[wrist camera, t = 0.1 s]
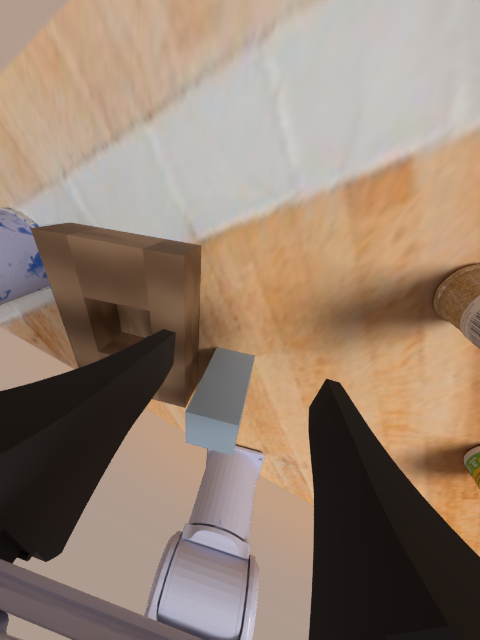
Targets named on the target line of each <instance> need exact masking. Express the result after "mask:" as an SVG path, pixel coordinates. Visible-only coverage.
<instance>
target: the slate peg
mask: <svg viewBox="0 0 480 640" xmlns="http://www.w3.org/2000/svg"><path fill="white" fill-rule="evenodd" d="M254 357H255V356H254V355H250V354H245V353H241V352H236V351H232V350H227V349H223V348H219V347H217V348H216V350H215V352H214V354H213V356H212V358H211V361H210V363H209V365H208V367H207V369H206V371H205V373H204V375H203V377H202V379H201V381H200V383H199V385H198V387H197V389H196V391H195V393H194V395H193V398H192V400H191V402H190V404H189V406H188V408H187V410H186V443H190V444H193V445H196V446H200V447H204V448H207V449H211V450H214V451H218V452H221V453H225V454H228V455H232V456H233V453H234V449H235V444H236V440H237V435H238V431H239V427H240V422H241V418H242V413H243V409H244V404H245V400H246V396H247V391H248V387H249V382H250V377H251V372H252V367H253V362H254Z"/></svg>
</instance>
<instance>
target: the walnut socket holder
mask: <svg viewBox="0 0 480 640" xmlns="http://www.w3.org/2000/svg"><path fill="white" fill-rule="evenodd" d="M31 231H32V234H33V237H34V240H35V243H36V245H37V248H38V251H39V254H40V257H41V260H42V263H43V266H44V269H45V271H46V274H47V277H48V280H49V283H50V286H51V289H52V292H53V295H54V298H55V300H56V303H57V306H58V309H59V312H60V315H61V318H62V321H63V324H64V326H65V329H66V332H67V335H68V338H69V341H70V344H71V347H72V350H73V352H74V355H75V358H76V361H77V364H78V367H79V368H80V367H83V366H86V365H88V364H91V363H93V362H96V361H98V360H101V359H103V358H105V357H107V356H110V355H112V354H114V353H116V352H119V351H121V350H123V349H125V348H127V347H129V346H131V345H133V344H135V343H137V342H139V341H141V340H143V339H145V338H142V337H137V336H133V335H129V334H124V333H121V328H120V323H119V317H118V312H117V307H116V304H118V305H123V306H128V307H132V308H137V309H141V310H146V311H149V313H150V323H151V332H152V335H153V334H155V333H157V332H159V331H161V330H163V329H166V330H169V331H172V332H176V338H175V351H174V364H173V366H172V368H171V370H170V372H169V374H168V375H167V377H166V379H165V381H164V382H163V384H162V385H161V387H160V388H159V389H158V391H157V392H156V394H155V395H154V396H153V398H152V399H154V400H158V401H162V402H165V403H169V404H173V405H177V406H181V407H184V408H185V407H186V405H187V403H188V401H189V399H190V397H191V395H192V393H193V391H194V389H195V387H196V385H197V379H198V344H199V309H200V274H201V245H195V244H189V243H183V242H178V241H172V240H166V239H161V238H155V237H149V236H144V235H138V234H132V233H127V232H121V231H115V230H109V229H104V228H98V227H92V226H87V225H81V224H75V223H65V224H57V225H50V226H43V227H36V228H31Z"/></svg>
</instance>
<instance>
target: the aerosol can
mask: <svg viewBox="0 0 480 640" xmlns="http://www.w3.org/2000/svg"><path fill="white" fill-rule="evenodd" d="M36 227H39V226H38V225H37V224H36V223H35V222H34V221H33V220H31V219H30V218H28V217H27V216H25V215H24V214H23V213H21V212H18V211H16V210H13V209H11V208H0V305H1V304H4V303H6V302H9V301H12V300H14V299H17V298H19V297H22V296H24V295H27V294H30V293H32V292H35V291H37V290H45V289H48V288H51V286H50V283H49V280H48V277H47V274H46V271H45V269H44V266H43V263H42V260H41V257H40V254H39V251H38V248H37V245H36V243H35V240H34V237H33V234H32V231H31V228H36Z"/></svg>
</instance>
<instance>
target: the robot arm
mask: <svg viewBox="0 0 480 640" xmlns="http://www.w3.org/2000/svg"><path fill="white" fill-rule="evenodd" d="M175 338H176V332H172V331H169V330H166V329H163V330H161V331H159V332H157V333H155V334H153V335H151V336H149V337H147V338H145V339H143V340H141V341H139V342H137V343H135V344H133V345H131V346H129V347H127V348H125V349H123V350H121V351H119V352H116V353H114V354H112V355H110V356H107V357H105V358H103V359H101V360H98V361H96V362H93V363H91V364H88V365H86V366H83V367H80V368H78V369H75V370H72V371H69V372H66V373H63V374H61V375H57V376H54V377H51V378H47V379H44V380H41V381H38V382H34V383H31V384H27V385H24V386H19V387H15V388H12V389H8V390H4V391H0V640H22V639H19V638H16V637H13V636H10V635H7V633H6V628H7V625H8V621H9V619H8V614H7V613H9V614H12V615H14V616H16V617H19V618H21V619H24V620H26V621H29V622H31V623H33V624H36V625H38V626H41V627H43V628H45V629H48V630H50V631H53V632H55V633H58V634H60V635H62V636H65V637H67V638H70V639H72V640H252V636H253V631H254V624H255V617H256V608H257V598H258V584H259V568H258V564H257V562H256V560H255V557H254V556H253V555H249V553H250V544H249V543H248V541H249V532H250V525H251V517H252V508H253V501H254V494H255V485H256V482H257V479H258V476H259V473H260V470H261V467H262V464H263V461H264V458H265V455H264V454H263V453H261V452H257V451H254V450H250V449H246V448H243V447H239V446H236V445H235V449H234V453H233V456H232V455H228V454H225V453H221V452H218V451H214V450H211V449H207V462H206V470H205V473H204V476H203V479H202V482H201V485H200V488H199V491H198V495H197V498H196V501H195V504H194V508H193V511H192V514H191V517H190V521H189V523H188V524H185V527H184V530H183V532H180V531H178V532H177V533H176V534H175V535H173V536H172V537H171V538H170V540H169V541H168V543H167V545H166V548H165V550H164V552H163V555H162V558H161V560H160V563H159V566H158V569H157V572H156V575H155V578H154V581H153V584H152V588H151V592H150V596H149V600H148V606H147V608H146V612H145V615H144V616H143V615H140V614H138V613H135V612H133V611H130V610H127V609H125V608H122V607H120V606H117V605H115V604H112V603H110V602H107V601H105V600H102V599H100V598H97V597H95V596H92V595H90V594H87V593H84V592H82V591H79V590H77V589H74V588H72V587H69V586H67V585H64V584H62V583H59V582H57V581H54V580H52V579H49V578H46V577H44V576H42V575H39V574H37V573H34V572H32V571H29V570H26V569H24V568H22V567H19V566H16V565H14V564H12V563H13V562H14V560H15V559H16V558H20V559H23V560H25V561H28V560H30V558H31V557H35V558H37V559H40V560H43V561H45V562H47V561H49V560H51V559H53V558H54V557H56V556H58V555H59V554H60V553H62V551H63V549H64V547H65V545H66V543H67V541H68V539H69V537H70V535H71V533H72V531H73V529H74V527H75V526H76V524H77V522H78V520H79V518H80V516H81V514H82V512H83V510H84V508H85V506H86V505H87V503H88V501H89V499H90V497H91V496H92V494H93V492H94V490H95V488H96V486H97V485H98V483H99V481H100V479H101V477H102V476H103V474H104V472H105V470H106V469H107V467H108V465H109V463H110V462H111V459H112V458H113V456H114V455H115V453H116V451H117V450H118V448H119V446H120V445H121V443H122V441H123V440H124V438H125V436H126V435H127V433H128V431H129V430H130V428H131V427H132V425H133V424H134V423H135V421H136V419H137V418H138V417H139V416H140V414H141V413H142V412H143V410H144V409H145V407H146V406H147V405H148V403H149V402H150V401H151V399H152V398H153V396H154V395H155V394H156V392H157V391H158V389H159V388H160V387H161V385H162V384H163V382H164V381H165V379H166V377H167V375H168V374H169V372H170V370H171V368H172V366H173V364H174V351H175ZM309 441H310V453H311V464H312V474H313V486H314V552H313V579H312V598H311V614H310V630H309V640H480V557H479V556H478V555H477V554H476V553H475V552H474V551H473V550H472V549H471V548H470V547H469V546H468V545H467V544H466V543H465V542H464V541H463V540H462V539H461V537H460V536H459V535H458V534H457V533H456V532H455V531H454V530H453V529H452V528H451V527H450V526H449V525H448V524H447V523H446V522H445V520H444V519H443V518H442V517H441V516H440V515H439V514H438V513H437V512H436V511H435V510H434V508H433V507H432V506H431V505H430V504H429V503H428V502H427V501H426V500H425V498H424V497H423V496H422V495H421V494H420V493H419V491H418V490H417V489H416V488H415V487H414V486H413V484H412V483H411V482H410V481H409V479H408V478H407V477H406V476H405V475H404V473H403V472H402V471H401V470H400V469H399V467H398V466H397V465H396V463H395V462H394V461H393V460H392V458H391V457H390V456H389V454H388V453H387V452H386V450H385V449H384V448H383V446H382V445H381V443H380V442H379V441H378V439H377V438H376V436H375V435H374V434H373V432H372V431H371V429H370V428H369V426H368V425H367V423H366V422H365V420H364V419H363V417H362V416H361V414H360V413H359V411H358V410H357V408H356V407H355V405H354V404H353V402H352V400H351V399H350V397H349V396H348V394H347V393H346V391H345V390H344V388H343V387H342V385H341V384H340V383H339V382H336V381H332V380H329V379H326V380H325V382H324V384H323V385H322V387H321V389H320V390H319V392H318V394H317V395H316V397H315V399H314V400H313V402H312V404H311V405H310V407H309ZM6 612H7V613H6Z"/></svg>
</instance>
